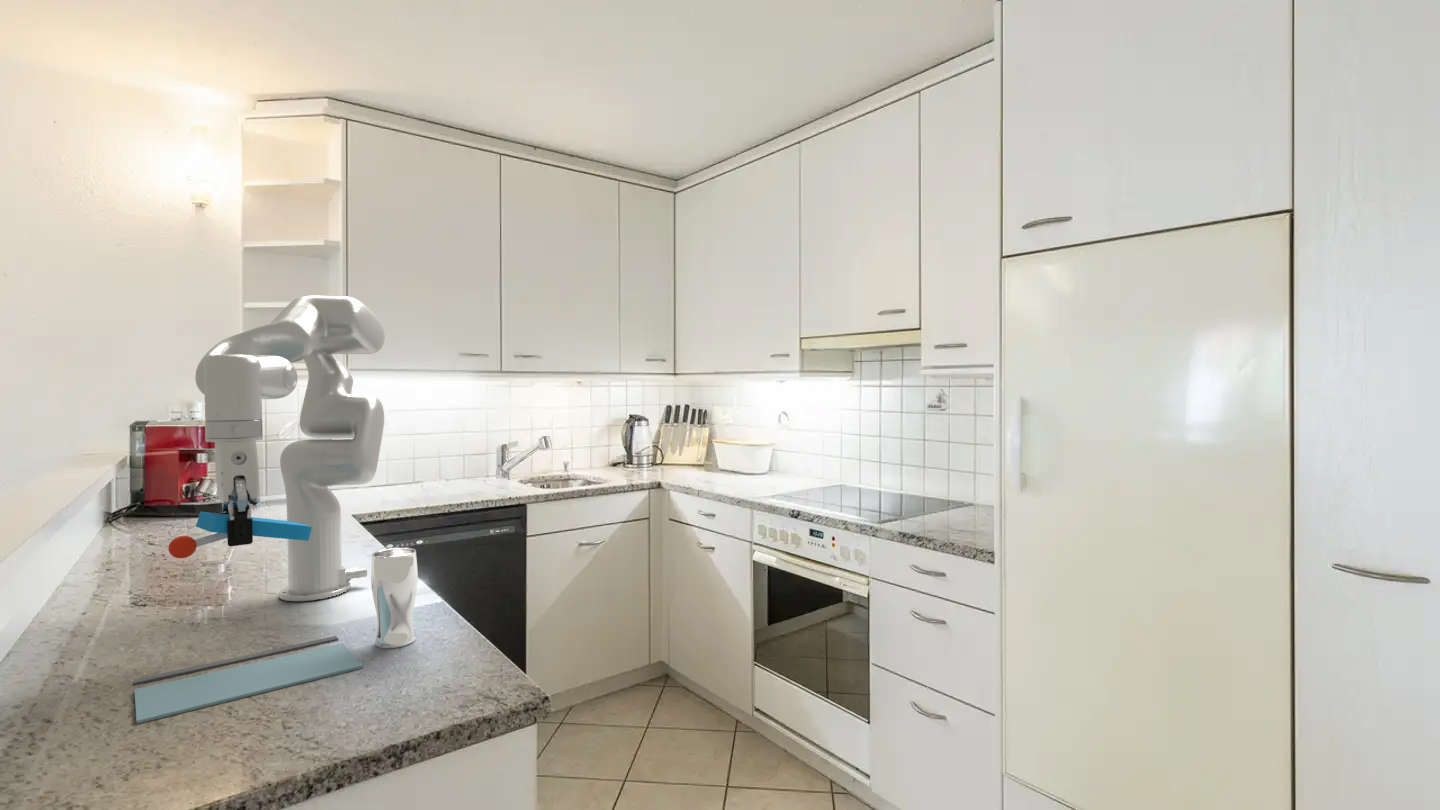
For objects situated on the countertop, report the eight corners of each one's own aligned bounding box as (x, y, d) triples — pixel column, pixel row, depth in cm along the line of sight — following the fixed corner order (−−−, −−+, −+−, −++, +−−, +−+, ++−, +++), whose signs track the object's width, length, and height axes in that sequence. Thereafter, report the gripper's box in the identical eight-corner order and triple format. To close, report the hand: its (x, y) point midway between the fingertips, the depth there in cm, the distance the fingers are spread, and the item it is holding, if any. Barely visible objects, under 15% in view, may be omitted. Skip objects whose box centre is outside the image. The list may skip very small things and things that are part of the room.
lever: (283, 561, 120) (158, 554, 105) (294, 521, 121) (172, 508, 107) (301, 568, 116) (173, 561, 101) (312, 526, 117) (188, 513, 103)
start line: (335, 637, 116) (335, 635, 116) (338, 640, 115) (338, 638, 115) (133, 681, 99) (133, 679, 99) (134, 684, 98) (134, 682, 98)
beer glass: (427, 638, 116) (426, 549, 116) (392, 652, 110) (391, 559, 109) (398, 632, 119) (397, 545, 118) (362, 645, 113) (361, 554, 112)
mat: (342, 645, 113) (342, 643, 113) (362, 667, 104) (362, 665, 104) (134, 692, 95) (134, 689, 95) (136, 723, 86) (136, 720, 86)
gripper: (271, 433, 106) (273, 546, 107) (254, 428, 119) (256, 528, 120) (210, 435, 101) (213, 554, 102) (200, 430, 114) (202, 534, 115)
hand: (236, 539), depth 111 cm, fingers closed on lever, 7 cm apart
